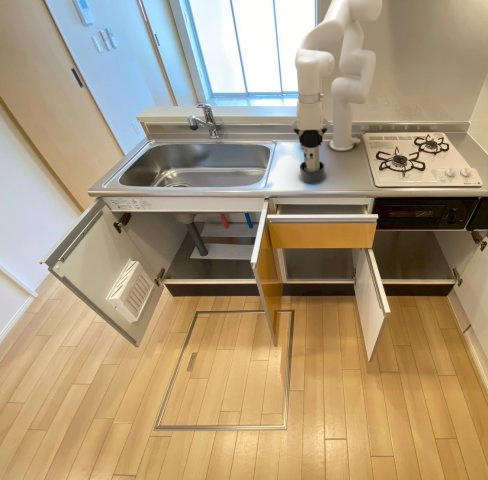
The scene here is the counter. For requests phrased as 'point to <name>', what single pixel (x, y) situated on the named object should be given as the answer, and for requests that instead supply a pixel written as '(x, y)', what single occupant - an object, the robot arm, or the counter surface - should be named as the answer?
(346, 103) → the robot arm
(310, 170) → the spray can
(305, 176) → the can holder
